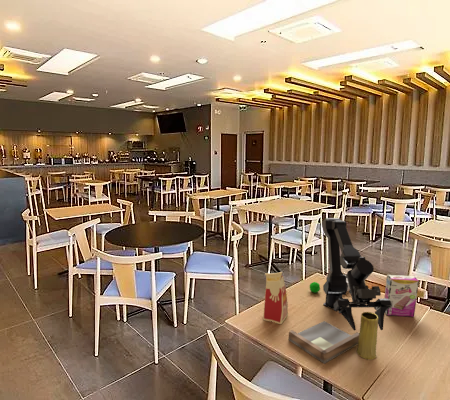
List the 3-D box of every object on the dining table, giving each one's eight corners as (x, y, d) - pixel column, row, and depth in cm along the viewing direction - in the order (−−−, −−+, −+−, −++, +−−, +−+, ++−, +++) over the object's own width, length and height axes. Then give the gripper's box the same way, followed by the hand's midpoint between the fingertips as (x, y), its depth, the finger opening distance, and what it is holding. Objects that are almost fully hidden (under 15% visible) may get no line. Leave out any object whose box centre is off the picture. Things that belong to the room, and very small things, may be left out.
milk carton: (287, 314, 140) (289, 269, 137) (282, 324, 132) (283, 277, 128) (267, 309, 144) (268, 265, 141) (260, 319, 136) (261, 273, 132)
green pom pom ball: (307, 292, 160) (308, 283, 159) (310, 288, 164) (311, 279, 163) (318, 295, 158) (318, 285, 157) (321, 291, 162) (321, 282, 161)
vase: (375, 350, 116) (378, 312, 113) (377, 361, 110) (380, 321, 108) (356, 347, 118) (359, 309, 115) (357, 357, 112) (360, 318, 110)
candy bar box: (387, 316, 139) (390, 279, 136) (382, 310, 144) (386, 274, 141) (415, 317, 138) (419, 280, 135) (409, 311, 143) (413, 275, 140)
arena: (288, 340, 122) (288, 331, 121) (324, 323, 133) (324, 315, 133) (324, 363, 109) (324, 354, 108) (360, 342, 120) (361, 334, 120)
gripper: (338, 277, 115) (348, 323, 106) (392, 276, 115) (406, 323, 106) (329, 288, 124) (338, 332, 115) (379, 288, 124) (391, 332, 115)
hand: (368, 330), depth 113 cm, fingers open, 9 cm apart
